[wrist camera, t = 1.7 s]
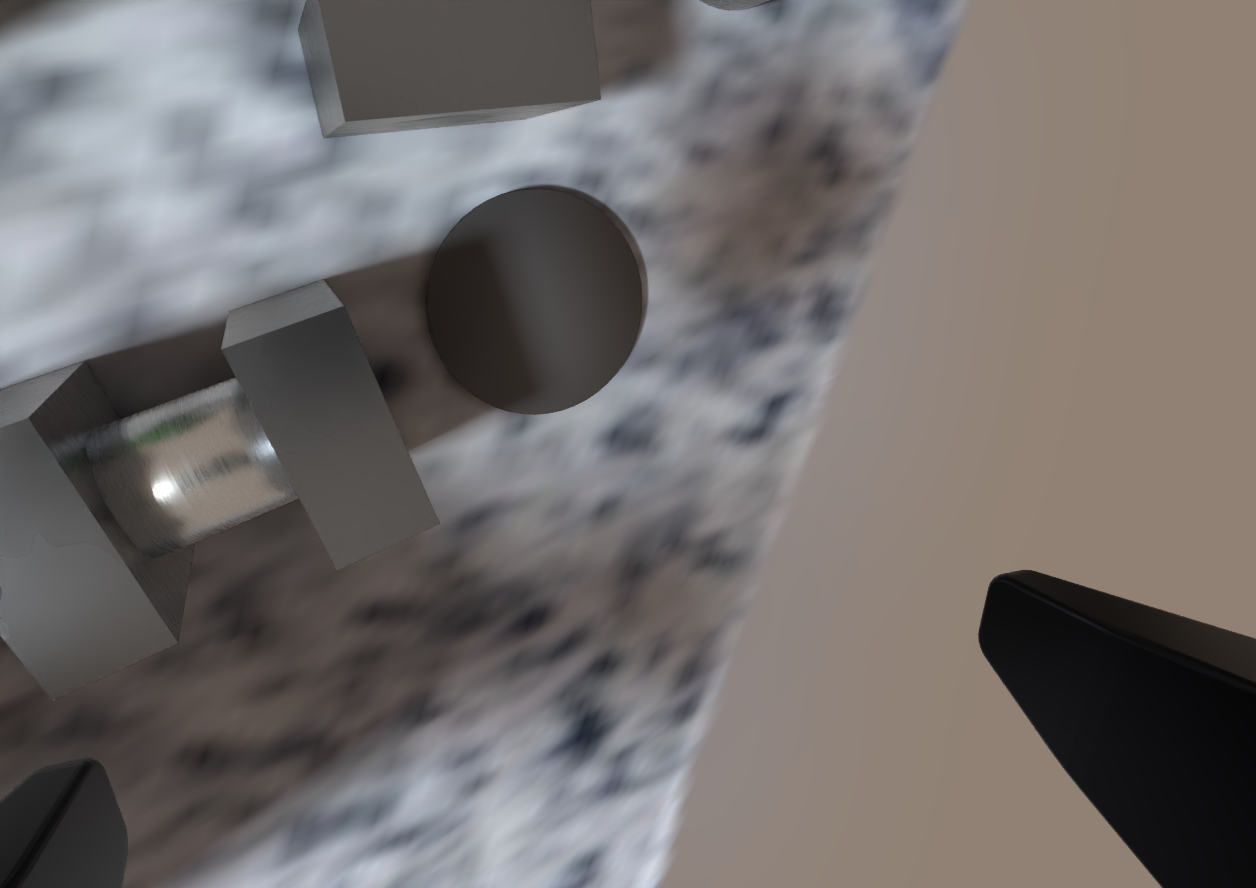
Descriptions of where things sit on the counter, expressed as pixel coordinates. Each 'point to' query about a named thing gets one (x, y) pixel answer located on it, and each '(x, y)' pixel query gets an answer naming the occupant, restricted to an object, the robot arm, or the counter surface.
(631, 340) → the pad
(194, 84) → the counter surface
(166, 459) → the grey metal block
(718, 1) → the sleeve
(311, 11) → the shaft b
